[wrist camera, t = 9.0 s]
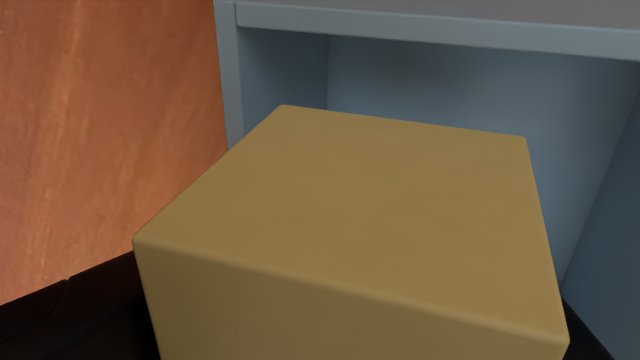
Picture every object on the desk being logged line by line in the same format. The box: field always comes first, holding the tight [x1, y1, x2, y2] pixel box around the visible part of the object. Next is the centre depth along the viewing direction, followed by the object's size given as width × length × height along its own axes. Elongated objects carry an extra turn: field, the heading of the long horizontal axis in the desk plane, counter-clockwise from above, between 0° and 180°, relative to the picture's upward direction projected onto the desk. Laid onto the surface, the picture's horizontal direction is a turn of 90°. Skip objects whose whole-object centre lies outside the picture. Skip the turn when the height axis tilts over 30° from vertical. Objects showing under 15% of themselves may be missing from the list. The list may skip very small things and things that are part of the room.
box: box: [213, 0, 640, 360], centre depth 14 cm, size 12×11×8 cm
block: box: [132, 105, 570, 360], centre depth 7 cm, size 4×4×4 cm
